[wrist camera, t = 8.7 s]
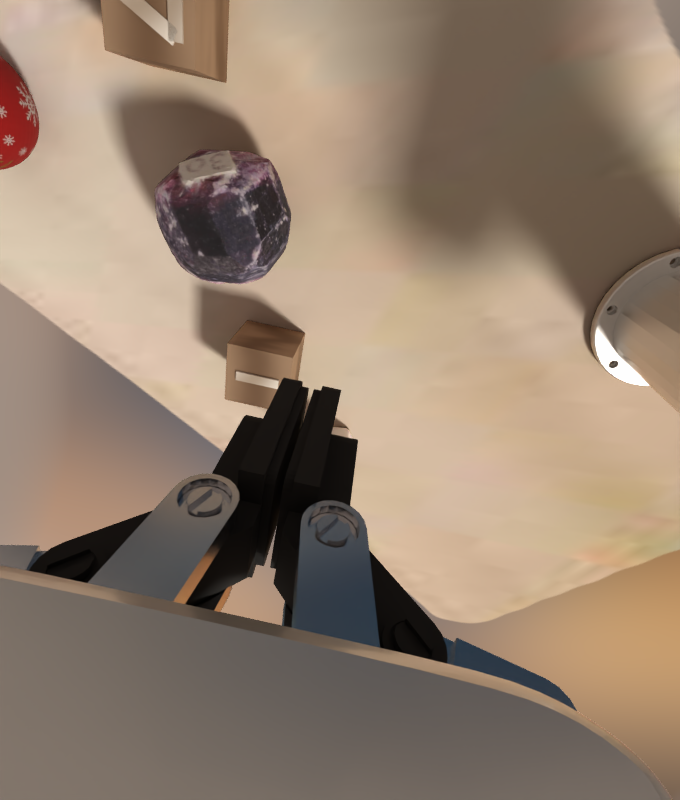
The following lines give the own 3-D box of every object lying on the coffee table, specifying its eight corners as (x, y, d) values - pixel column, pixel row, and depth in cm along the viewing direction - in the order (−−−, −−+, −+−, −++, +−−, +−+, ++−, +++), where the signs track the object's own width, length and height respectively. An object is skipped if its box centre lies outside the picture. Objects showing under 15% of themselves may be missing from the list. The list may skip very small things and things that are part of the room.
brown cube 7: (230, -24, 29) (193, -62, 24) (226, 82, 32) (193, 70, 27) (146, -42, 29) (90, -85, 24) (150, 66, 32) (103, 49, 27)
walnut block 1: (305, 332, 42) (292, 358, 37) (297, 382, 45) (284, 413, 40) (247, 319, 42) (226, 344, 37) (243, 370, 45) (224, 400, 40)
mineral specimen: (325, 173, 33) (278, 242, 27) (281, 264, 41) (238, 331, 35) (212, 94, 31) (135, 150, 25) (189, 207, 39) (128, 268, 33)
